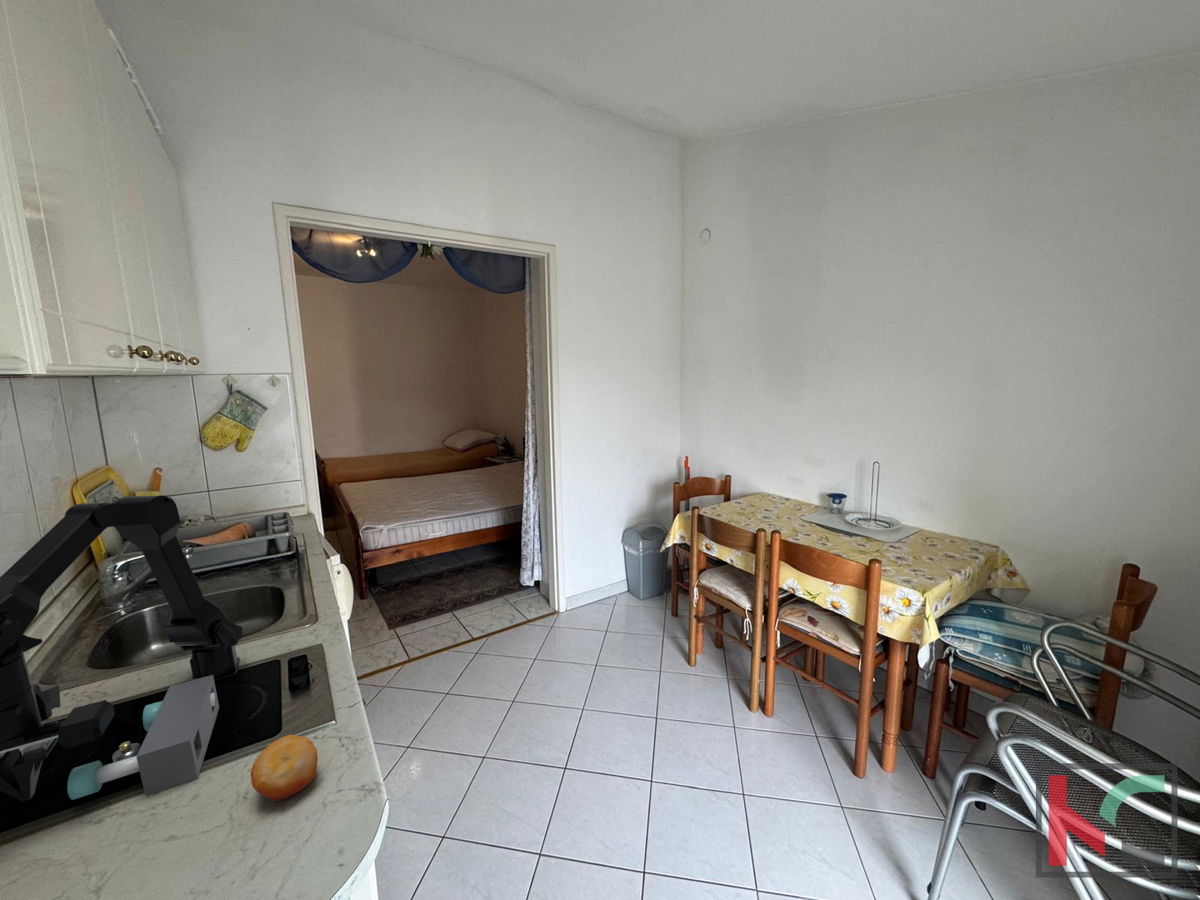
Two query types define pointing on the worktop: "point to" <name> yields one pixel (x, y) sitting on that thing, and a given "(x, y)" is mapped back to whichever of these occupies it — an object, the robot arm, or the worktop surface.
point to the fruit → (284, 767)
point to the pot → (126, 751)
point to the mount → (178, 736)
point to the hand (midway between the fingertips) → (28, 797)
